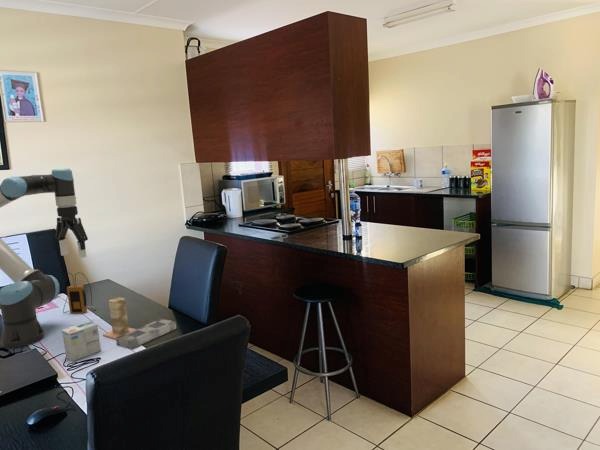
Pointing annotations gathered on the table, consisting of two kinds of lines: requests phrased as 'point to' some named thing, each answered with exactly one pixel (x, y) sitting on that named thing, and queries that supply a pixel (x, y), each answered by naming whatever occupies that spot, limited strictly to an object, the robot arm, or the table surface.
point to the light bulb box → (81, 340)
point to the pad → (113, 336)
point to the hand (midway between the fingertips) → (73, 256)
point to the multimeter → (77, 298)
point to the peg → (118, 316)
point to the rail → (145, 333)
